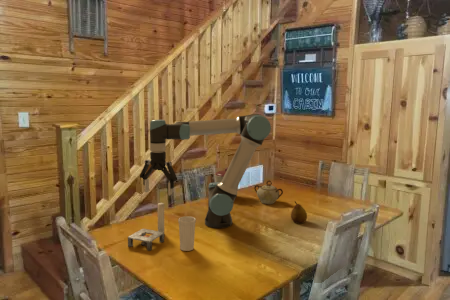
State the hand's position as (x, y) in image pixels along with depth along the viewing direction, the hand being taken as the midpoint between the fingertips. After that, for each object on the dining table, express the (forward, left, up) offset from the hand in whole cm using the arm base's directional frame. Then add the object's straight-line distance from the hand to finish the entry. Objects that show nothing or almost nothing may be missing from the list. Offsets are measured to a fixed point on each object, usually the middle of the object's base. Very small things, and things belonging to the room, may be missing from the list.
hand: (158, 193), depth 184 cm
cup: (-22, +11, -21) cm, 32 cm away
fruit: (-62, -48, -21) cm, 81 cm away
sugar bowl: (-36, -77, -21) cm, 88 cm away
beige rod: (-2, +1, -21) cm, 21 cm away
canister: (-7, -76, -21) cm, 79 cm away
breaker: (-2, +14, -19) cm, 24 cm away
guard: (-2, +14, -21) cm, 25 cm away
